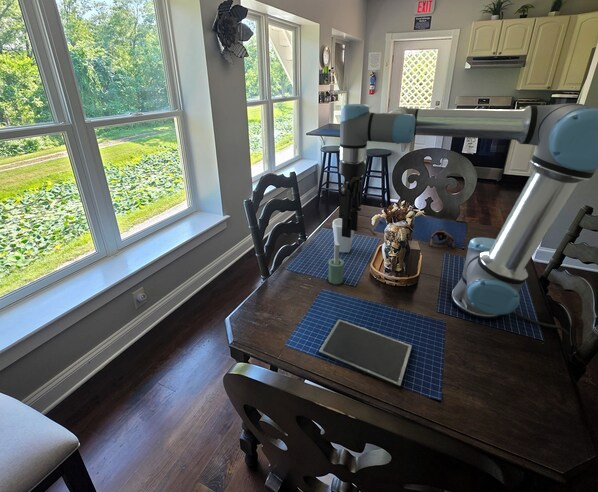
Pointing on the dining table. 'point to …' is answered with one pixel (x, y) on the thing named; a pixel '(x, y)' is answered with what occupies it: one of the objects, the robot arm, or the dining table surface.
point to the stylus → (336, 254)
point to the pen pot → (336, 272)
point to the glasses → (368, 228)
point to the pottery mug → (441, 237)
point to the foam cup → (338, 238)
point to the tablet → (367, 352)
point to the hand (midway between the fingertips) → (349, 233)
